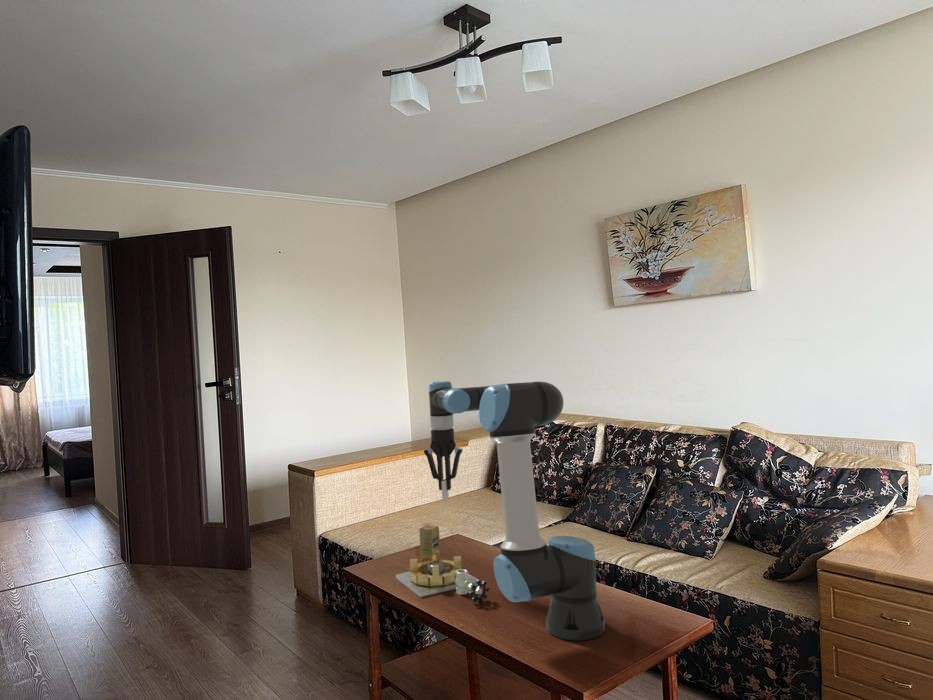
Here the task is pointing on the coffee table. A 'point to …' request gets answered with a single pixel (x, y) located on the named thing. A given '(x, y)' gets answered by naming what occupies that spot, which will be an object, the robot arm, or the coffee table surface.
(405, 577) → the hub plate
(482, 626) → the coffee table surface
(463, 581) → the valve
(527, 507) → the robot arm
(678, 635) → the coffee table surface
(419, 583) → the tan toothed ring
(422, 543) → the shoe polish box
